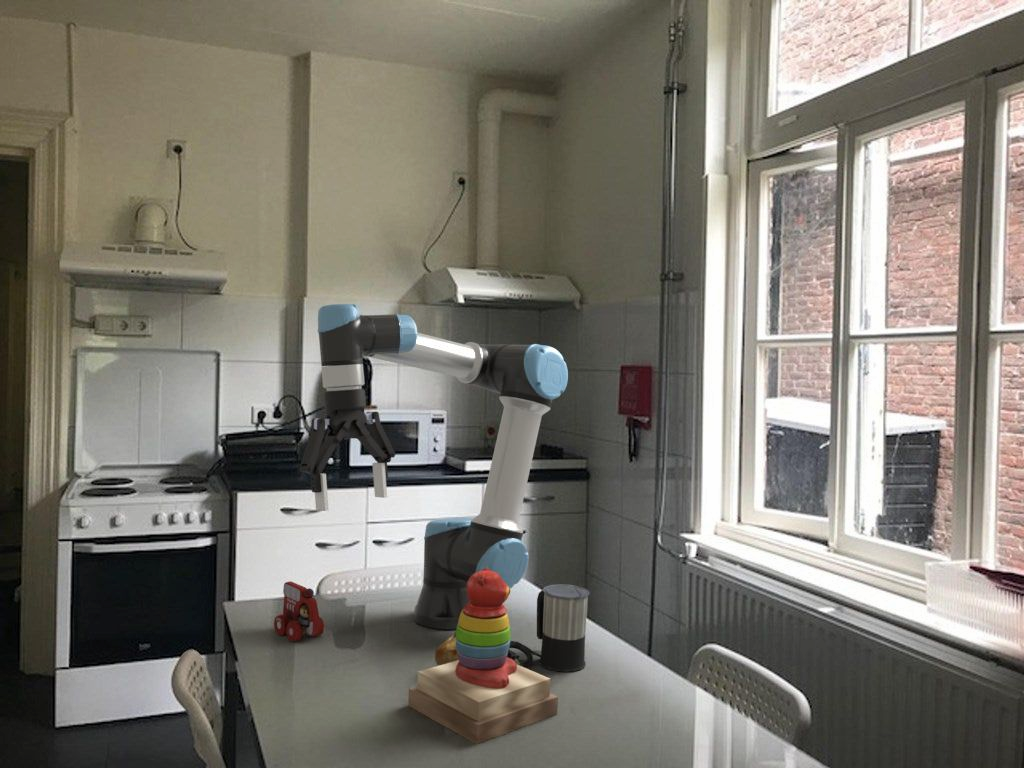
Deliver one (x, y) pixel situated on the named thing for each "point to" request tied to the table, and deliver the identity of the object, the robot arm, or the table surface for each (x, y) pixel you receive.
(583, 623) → the milk frother
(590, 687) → the table surface
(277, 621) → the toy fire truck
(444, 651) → the onion
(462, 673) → the stacking bear
